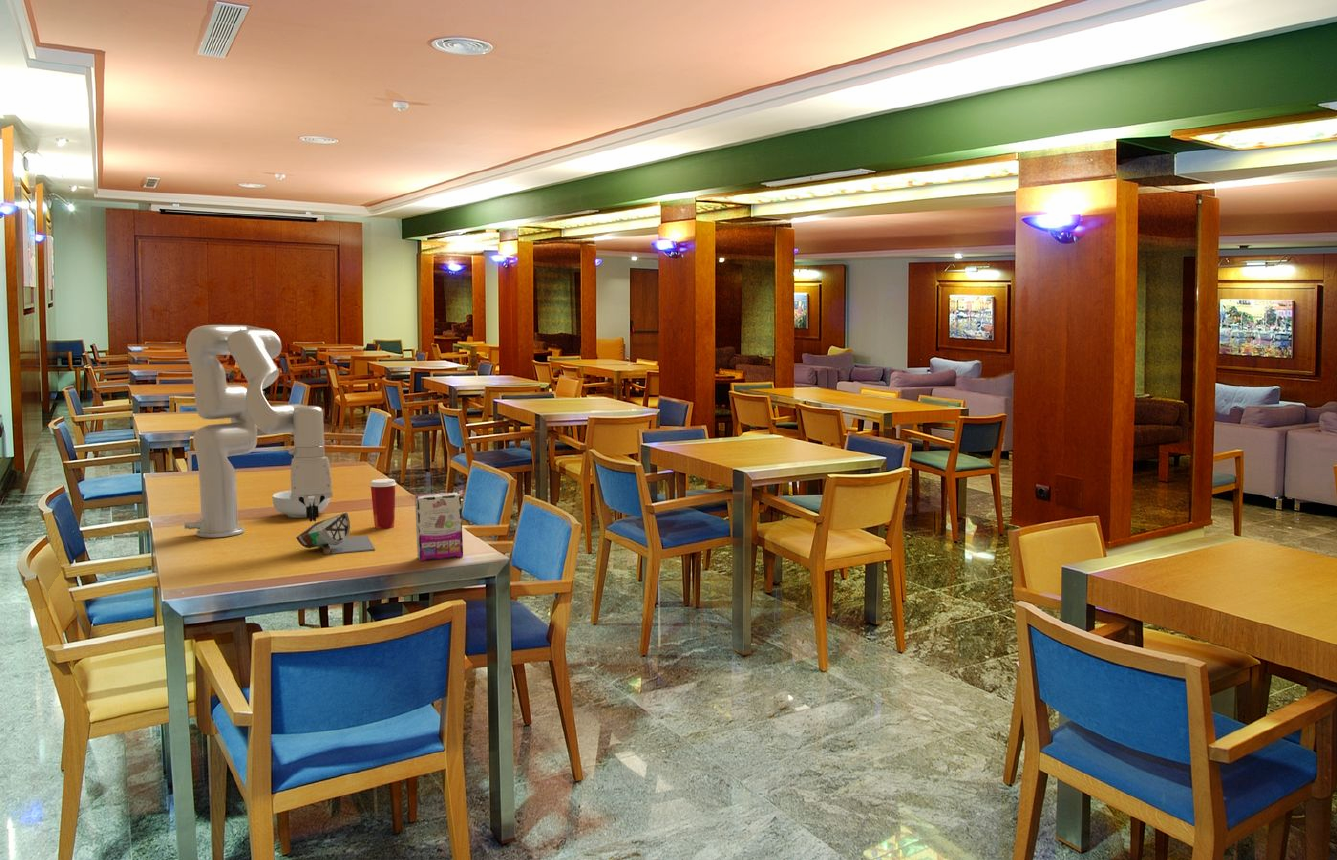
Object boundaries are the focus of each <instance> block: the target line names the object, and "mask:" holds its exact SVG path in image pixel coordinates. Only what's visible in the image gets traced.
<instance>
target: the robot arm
mask: <svg viewBox="0 0 1337 860" xmlns="http://www.w3.org/2000/svg"><path fill="white" fill-rule="evenodd" d="M282 348H283V347H282V340H281V339H280V337H279V336H278V335H277V333H276V332H275V331H273V330H271V329H268V328H261V327H257V326H252V325H245V324H207V325H204V324H203V325H200V326H196V327H195V328H193V329H192V330H191V331H190V332H189V333H188V334H187V337H186V341H185V350H186V355H187V360H188V362H189V365H190V368H191V372H192V383H193V392H194V393H193V394H194V402H195V409H196V412H197V415H198V416H199V418H202V419H203V420H208V421H209V420H213V421H214V420H223V419H230V422H227V423H215V424H207V425H205V426H202V427H201V426H200V428H198V429H197V430H195V432H194V435H193V439H192V445H193V448H194V452H195V453H194V454H195V455H196V460H197V466H198V467H197V468H198V480H199V498H200V519H199V520H197V519H196V521H184V529H187V530H196V529H197V530H196V532H195V534H196V535H195V536H196V537H200V538H205V539H206V538H213V539H214V538H224V537H232V536H237V535H240V534H243V533H244V532H245V527H244V526H242V525H239V516H238V515H239V514H238V513H239V512H238V496H237V495H238V494H237V479H236V478H237V477H236V474H237V473H236V471H235V468H234V466H233V464H232V463H231V461H230V460H229V459H228V458H229V457H232V456H241V455H246V454H250V453H251V452H253V451H254V450H255V449H256V447H257V444H258V429H259V430H260V431H261V432H263V433H264V434H267V435H277V434H287V433H293V441H294V443H293V445H294V447H293V448H290V449H289V448H288V455H293V456H294V457H292V459H291V463H290V491H291V496H290V499H291V500H295V501H300V502H301V503H303V504H304V505H305V506H306V517H305V518H306V519H308V520H309V522H316V521H317V518H319V516H320V515H319V512H318V506H319V504H320V503H321V502H322V501H323V500H324V499H327V498H330V499H331V498H333V497H334V494H333V491H332V488H333V487H332V483H333V482H332V475H331V474H332V473H331V465H330V460H329V458H328V456H327V455H325V454H326V452H325V451H326V450H325V448H326V447H325V430H324V429H325V426H324V424H325V423H324V411H323V409H322V407H320V406H318V405H317V406H316V405H305V404H300V403H291V404H290V403H289V404H277V405H271V404H270V403H269V401H268V400H267V399H266V397H265V394H264V392H263V390H264V389H266V388H268V387H269V386H271V385H273V384H274V383H275V382H276V381H277V379H278V378H279V376H280V370H279V368H278V367H277V365H276V363H275V362H274V360H273V359H276V358H277V357H278V356H280V354H281V353H282ZM230 355H231V356H232V358H233V360H234V361H235V363H236V365H237V366H238V368H239V370H240V371H241V373H242V375H243V376H244V378H245V380H246V382H247V383H248V386H247V387H246V386H244V385H239V384H232V385H231V384H229V385H228V384H227V379H226V378H227V375H226V370H225V367H224V366H223V364H222V363H221V361H220V360H219V358H217V357H216V356H230ZM257 428H258V429H257ZM314 495H315V498H314V503H313V505H312V506H311V503H310V502H309V498H308V496H314ZM302 496H303V497H302ZM312 515H313V516H312Z"/></svg>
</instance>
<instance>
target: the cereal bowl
mask: <svg viewBox="0 0 1337 860" xmlns="http://www.w3.org/2000/svg"><path fill="white" fill-rule="evenodd" d="M290 496H291V490H285V491H279V492H276V493H274V494H273V495H272V498H271V499H272V504H273V507H274V509H275V510H276V511H277V512H279V513H280V514H283V515H287V516H288V517H289V518H295V519H296V518H297V519H299V518H300V519H301V518H307V517H306V506H305V505H304V504H303V503H301V502H300V501H295V500H291V499H290ZM302 497H303V496H302ZM308 498H309V502H310V503H311V506H312V505H313V503H314V498H315V495H314V496H308ZM330 499H331V498H327V499H324V500H323V501H322V502H321V503H320V504H319V506H318V513H320V512H322V511H324V510H325V509H326V508H327V507H328V506H329V503H330ZM312 517H313V515H312Z"/></svg>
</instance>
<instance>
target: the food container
mask: <svg viewBox="0 0 1337 860" xmlns="http://www.w3.org/2000/svg"><path fill="white" fill-rule="evenodd" d="M350 521H351V520H350V517H349V514H348V512H342V513H341V514H338V515H336V516H333V517H329V518H326V519H323V520H320V521H317V522H314V523H313V524H312V525H311V526H309V527H307V528H306V529H305V530H304V531H303V532H301V533H300V534H299V535H298V536H296V540H297V541H298V543H299V544H300V545H301V546H302V547H304V548H305V549H306V548H307V549H313V548H317V547H322V545H327V544H330V545H338V544H340V543H341V542H343V541H344V540H345V539H346V538H347V537H349V535H350V531H351V522H350Z"/></svg>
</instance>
